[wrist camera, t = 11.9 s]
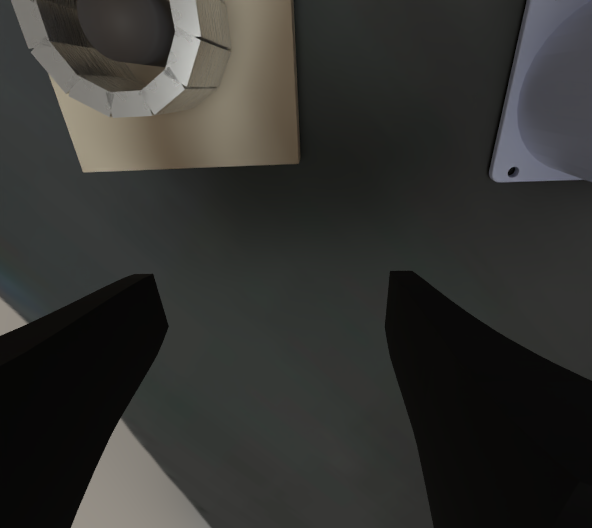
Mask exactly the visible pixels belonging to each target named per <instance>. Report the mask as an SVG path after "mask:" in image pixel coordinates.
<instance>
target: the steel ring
mask: <svg viewBox="0 0 592 528" xmlns="http://www.w3.org/2000/svg"><path fill="white" fill-rule="evenodd" d="M169 1H170V6H171V12H172V17H173V23H174V28H175V35H174V38H173V42H172V46H171V49H170V53H169V57H168V61H167V64H166V68H165V70H164V71H163V72H162V73H160V74H159V75H158V76H157V77H156V78H155V79H154V80H152V81H151V82H150V83H149V84H147V83H145V82H143V81H141V80H139V79H137V78H136V77H135V76H134V75H133V73H132V72H131V71H130V69H129V68H128V66H127V65H126V64H125V62H118V61H114V60H111V59H109V58H107V57H105V56H104V55H102V54H101V53H100V52H98V51H97V50H96V49H95V48H94V47H93V45H92V44H91V43H90V42H89V40H88V39H87V37H86V35H85V34H84V32H83V30H82V27H81V24H80V22H79V18H78V12H77V0H11V2H12V4H13V7H14V10H15V13H16V15H17V18H18V21H19V24H20V26H21V29H22V32H23V35H24V37H25V40H26V43H27V46H28V48H29V49H33V50H32V52H31V53H32V54H33V56H34V57H35V58H36V59H37V60H38V62H39V63H40V64H41V65H42V66H43V67H44V69H45V70H46V71H47V72H48V73H49V75H50V76H51V77H52V78H53V79H54V80H55V82H56V83H57V84H58V85H59V86H60V88H61V89H62V90H63V91H64V92H65V94H69V97H71V98H73V99H75V100H77V101H79V102H81V103H83V104H85V105H87V106H89V107H91V108H93V109H95V110H97V111H98V112H100V113H102V114H104V115H106V116H108V117H113V118H121V117H140V116H154V115H160V114H166V113H172V112H177V111H183V110H189V109H192V108H195V107H196V106H197V105H198V104H200V103H201V102H202V101H203V100H205V99H206V98H207V97H208V96H210V95H211V94H212V93H213V92H214V91H216V90H217V89H218V88H217V87H219V86H220V83H221V80H222V78H223V75H224V72H225V69H226V66H227V63H228V60H229V57H230V54H231V52H230V51H229V50H227V49H232V48H231V40H230V31H229V23H228V14H227V6H226V5H225V1H224V0H169Z"/></svg>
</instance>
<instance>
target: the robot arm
mask: <svg viewBox="0 0 592 528" xmlns="http://www.w3.org/2000/svg"><path fill="white" fill-rule="evenodd" d="M512 167H515V171H514V173H513V174H512V175H509V176H508V171H509V169H511V168H512ZM489 176H490V178H491V179H492V180H494V181H495V182H528V181H558V180H587V181H590V182H592V0H527V1H526V6H525V10H524V15H523V20H522V24H521V29H520V33H519V38H518V42H517V47H516V51H515V56H514V60H513V65H512V69H511V74H510V79H509V83H508V88H507V92H506V97H505V101H504V106H503V110H502V115H501V119H500V124H499V128H498V133H497V138H496V142H495V147H494V151H493V156H492V160H491V165H490V169H489ZM168 327H169V326H168V323H167V319H166V316H165V312H164V309H163V306H162V302H161V299H160V296H159V292H158V289H157V285H156V282H155V279H154V275H153V274H134V275H131V276H128V277H125V278H123V279H121V280H118V281H116V282H114V283H112V284H110V285H108V286H105V287H103V288H101V289H99V290H97V291H95V292H93V293H91V294H89V295H87V296H85V297H83V298H81V299H79V300H77V301H75V302H73V303H71V304H69V305H67V306H65V307H63V308H61V309H59V310H57V311H54V312H52V313H50V314H48V315H46V316H44V317H42V318H39V319H37V320H35V321H33V322H31V323H29V324H27V325H24V326H22V327H20V328H18V329H15V330H13V331H11V332H8V333H6V334H4V335H1V336H0V528H71V525H72V523H73V520H74V518H75V515H76V513H77V510H78V508H79V505H80V503H81V501H82V499H83V496H84V494H85V492H86V489H87V487H88V484H89V482H90V480H91V478H92V475H93V473H94V471H95V468H96V466H97V464H98V462H99V460H100V458H101V456H102V453H103V451H104V449H105V447H106V445H107V443H108V440H109V438H110V436H111V434H112V432H113V431H114V429H115V427H116V425H117V423H118V421H119V419H120V418H121V416H122V414H123V413H124V411H125V409H126V408H127V406H128V404H129V402H130V401H131V399H132V397H133V396H134V394H135V392H136V391H137V389H138V387H139V386H140V384H141V382H142V380H143V379H144V377H145V375H146V374H147V372H148V370H149V368H150V367H151V365H152V363H153V361H154V360H155V358H156V356H157V354H158V352H159V350H160V347H161V345H162V343H163V340H164V337H165V335H166V332H167V330H168ZM385 331H386V337H387V343H388V348H389V354H390V358H391V361H392V365H393V368H394V371H395V374H396V378H397V381H398V384H399V387H400V390H401V393H402V397H403V400H404V403H405V406H406V409H407V412H408V416H409V419H410V422H411V425H412V428H413V432H414V436H415V439H416V443H417V447H418V452H419V457H420V462H421V466H422V471H423V476H424V480H425V485H426V490H427V495H428V500H429V506H430V511H431V516H432V521H433V526H434V528H592V381H591V380H589V379H586V378H584V377H582V376H580V375H578V374H576V373H574V372H572V371H570V370H567V369H565V368H563V367H561V366H559V365H557V364H555V363H553V362H551V361H549V360H547V359H545V358H543V357H541V356H539V355H537V354H535V353H534V352H532V351H530V350H528V349H526V348H525V347H523V346H521V345H519V344H517V343H516V342H514V341H512V340H510V339H508V338H507V337H505V336H503V335H502V334H500V333H498V332H497V331H495V330H494V329H492V328H490V327H489V326H487V325H486V324H484V323H483V322H481V321H480V320H478V319H477V318H475V317H474V316H472V315H471V314H469V313H468V312H466V311H465V310H464V309H462V308H461V307H459V306H458V305H457V304H455V303H454V302H452V301H451V300H450V299H448V298H447V297H446V296H444V295H443V294H442V293H440V292H439V291H438V290H437V289H435V288H434V287H433V286H431V285H430V284H429V283H428V282H426V281H425V280H424V279H422V278H421V277H420V276H418V275H417V274H416V273H414V272H413V271H390V277H389V288H388V298H387V309H386V320H385Z"/></svg>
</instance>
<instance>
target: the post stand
mask: <svg viewBox="0 0 592 528" xmlns="http://www.w3.org/2000/svg"><path fill="white" fill-rule="evenodd" d="M224 1H225V5H226V6H227V14H228V23H229V31H230V40H231V48H232V49H227V50H229V51H230V52H231V54H230V57H229V60H228V63H227V66H226V69H225V72H224V75H223V78H222V80H221V83H220V86H219V87H217V88H218V89H217V90H216V91H214V92H213V93H212V94H211V95H210V96H208V97H207V98H206V99H205V100H203V101H202V102H201V103H200V104H198V105H197V106H196V107H195V108H192V109H189V110H183V111H177V112H172V113H166V114H160V115H154V116H140V117H121V118H113V117H108V116H106V115H104V114H102V113H100V112H98V111H97V110H95V109H93V108H91V107H89V106H87V105H85V104H83V103H81V102H79V101H77V100H75V99H73V98H71V97H69V94H65V92H64V91H63V90H62V89H61V88H60V86H59V85H58V84H57V83H56V82H55V80H54V79H53V78H52V77H51V76H50V75H49V76H50V79H51V82H52V85H53V88H54V90H55V93H56V96H57V99H58V102H59V105H60V108H61V110H62V113H63V116H64V119H65V122H66V125H67V127H68V130H69V133H70V136H71V139H72V142H73V144H74V147H75V150H76V153H77V156H78V159H79V161H80V164H81V167H82V170H83V172H106V171H131V170H156V169H180V168H205V167H230V166H255V165H280V164H299V161H300V158H301V157H300V135H299V113H298V90H297V68H296V45H295V23H294V0H224ZM77 12H78V18H79V22H80V24H81V27H82V30H83V32H84V34H85V35H86V37H87V39H88V40H89V42H90V43H91V44H92V45H93V47H94V48H95V49H96V50H97V51H98V52H100V53H101V54H102V55H104V56H105V57H107V58H109V59H111V60H114V61H118V62H125V64H126V65H127V66H128V68H129V69H130V71H131V72H132V73H133V75H134V76H135V77H136V78H137V79H139V80H141V81H143V82H145V83H147V84H149V83H150V82H151V81H152V80H154V79H155V78H156V77H157V76H158V75H159V74H160V73H162V72H163V71H164V70H165V68H166V64H167V61H168V57H169V53H170V49H171V46H172V42H173V38H174V35H175V28H174V23H173V17H172V12H171V6H170V1H169V0H77Z"/></svg>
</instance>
